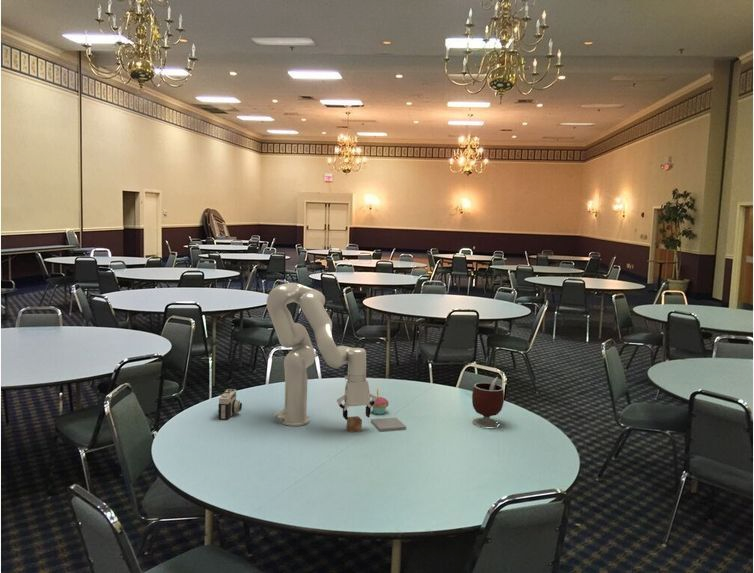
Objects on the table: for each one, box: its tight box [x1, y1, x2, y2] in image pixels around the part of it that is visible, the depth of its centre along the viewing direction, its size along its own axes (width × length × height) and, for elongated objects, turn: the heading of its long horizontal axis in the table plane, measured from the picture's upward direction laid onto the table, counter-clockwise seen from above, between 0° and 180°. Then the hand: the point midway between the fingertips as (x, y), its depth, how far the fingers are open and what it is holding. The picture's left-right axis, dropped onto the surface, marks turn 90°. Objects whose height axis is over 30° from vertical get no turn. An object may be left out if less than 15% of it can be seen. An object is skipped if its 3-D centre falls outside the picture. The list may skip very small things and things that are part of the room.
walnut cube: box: [346, 415, 363, 433], centre depth 247 cm, size 5×5×5 cm
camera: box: [217, 388, 243, 421], centre depth 258 cm, size 14×8×10 cm, turn 179°
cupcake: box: [371, 387, 389, 415], centre depth 270 cm, size 9×8×12 cm
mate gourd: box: [471, 376, 505, 428], centre depth 262 cm, size 16×14×20 cm
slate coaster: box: [370, 417, 407, 433], centre depth 254 cm, size 12×12×1 cm
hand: (356, 417), depth 246 cm, fingers open, 9 cm apart
